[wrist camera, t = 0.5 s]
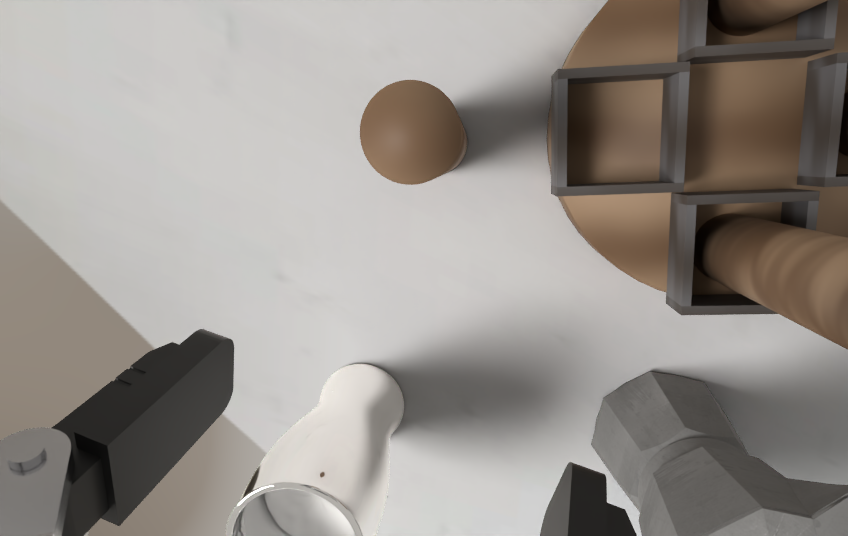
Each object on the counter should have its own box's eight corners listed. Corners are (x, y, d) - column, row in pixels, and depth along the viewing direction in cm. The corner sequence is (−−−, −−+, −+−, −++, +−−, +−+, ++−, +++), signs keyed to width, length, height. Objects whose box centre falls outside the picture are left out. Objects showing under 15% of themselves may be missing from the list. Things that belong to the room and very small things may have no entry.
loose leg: (404, 112, 35) (356, 83, 21) (466, 109, 34) (459, 77, 21) (406, 175, 36) (363, 186, 22) (468, 173, 35) (462, 182, 22)
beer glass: (421, 373, 38) (387, 506, 24) (396, 458, 40) (349, 633, 25) (327, 344, 39) (235, 459, 24) (306, 430, 40) (207, 587, 25)
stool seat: (545, -36, 32) (616, -241, 16) (913, -65, 30) (1442, -336, 14) (544, 293, 36) (601, 407, 20) (871, 287, 34) (1241, 409, 18)
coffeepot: (662, 318, 36) (839, 472, 18) (779, 395, 36) (1065, 619, 19) (527, 488, 39) (568, 756, 22) (635, 557, 39) (763, 877, 22)
